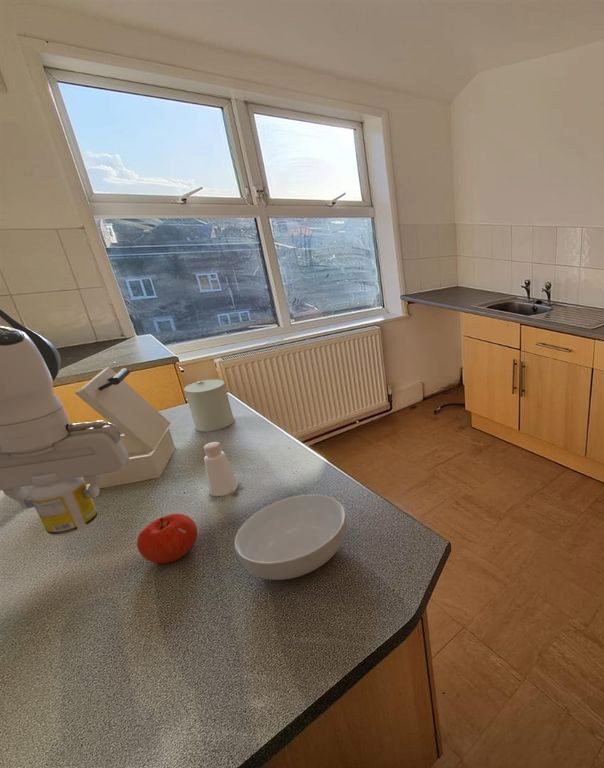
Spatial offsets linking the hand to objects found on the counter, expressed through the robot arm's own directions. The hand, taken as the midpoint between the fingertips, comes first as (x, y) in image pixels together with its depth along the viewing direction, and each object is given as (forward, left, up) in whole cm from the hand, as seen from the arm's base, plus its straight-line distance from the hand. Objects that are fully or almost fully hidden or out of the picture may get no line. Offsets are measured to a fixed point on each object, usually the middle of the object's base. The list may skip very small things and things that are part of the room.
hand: (62, 500), depth 73 cm
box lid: (+2, +26, +5) cm, 26 cm away
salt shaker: (+20, +9, -10) cm, 24 cm away
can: (+13, +44, -10) cm, 47 cm away
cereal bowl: (+35, -18, -10) cm, 41 cm away
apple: (+15, -9, -10) cm, 20 cm away
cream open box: (-2, +26, -10) cm, 28 cm away
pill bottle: (0, 0, -5) cm, 5 cm away
